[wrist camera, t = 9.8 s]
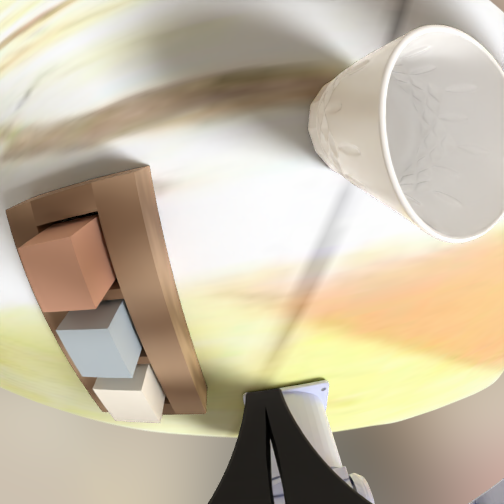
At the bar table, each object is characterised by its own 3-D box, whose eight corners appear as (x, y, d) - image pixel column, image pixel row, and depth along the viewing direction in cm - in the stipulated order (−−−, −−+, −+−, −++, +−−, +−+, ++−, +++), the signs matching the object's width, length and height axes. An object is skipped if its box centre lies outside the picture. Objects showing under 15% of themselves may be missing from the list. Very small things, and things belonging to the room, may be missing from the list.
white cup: (279, 160, 17) (340, 196, 7) (320, 48, 14) (407, -17, 5) (385, 203, 18) (487, 266, 9) (419, 103, 15) (534, 106, 6)
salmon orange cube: (119, 273, 17) (96, 309, 13) (70, 279, 17) (43, 312, 13) (102, 213, 15) (70, 236, 11) (52, 224, 15) (17, 248, 11)
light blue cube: (145, 338, 19) (132, 378, 16) (99, 340, 19) (82, 376, 15) (127, 291, 18) (107, 328, 14) (80, 296, 17) (55, 330, 14)
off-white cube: (167, 385, 22) (160, 422, 18) (125, 385, 21) (115, 420, 18) (151, 351, 20) (141, 390, 16) (107, 353, 20) (92, 388, 16)
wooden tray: (207, 387, 24) (206, 413, 21) (110, 388, 23) (102, 411, 21) (149, 165, 16) (133, 172, 13) (29, 198, 16) (5, 210, 13)
